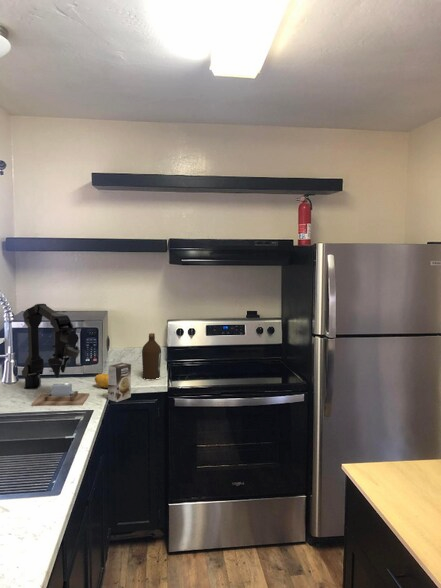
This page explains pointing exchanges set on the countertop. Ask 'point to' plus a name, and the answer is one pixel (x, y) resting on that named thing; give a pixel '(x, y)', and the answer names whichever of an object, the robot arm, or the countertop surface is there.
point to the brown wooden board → (61, 399)
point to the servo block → (61, 390)
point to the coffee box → (119, 382)
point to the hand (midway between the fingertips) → (60, 375)
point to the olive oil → (151, 358)
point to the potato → (102, 380)
